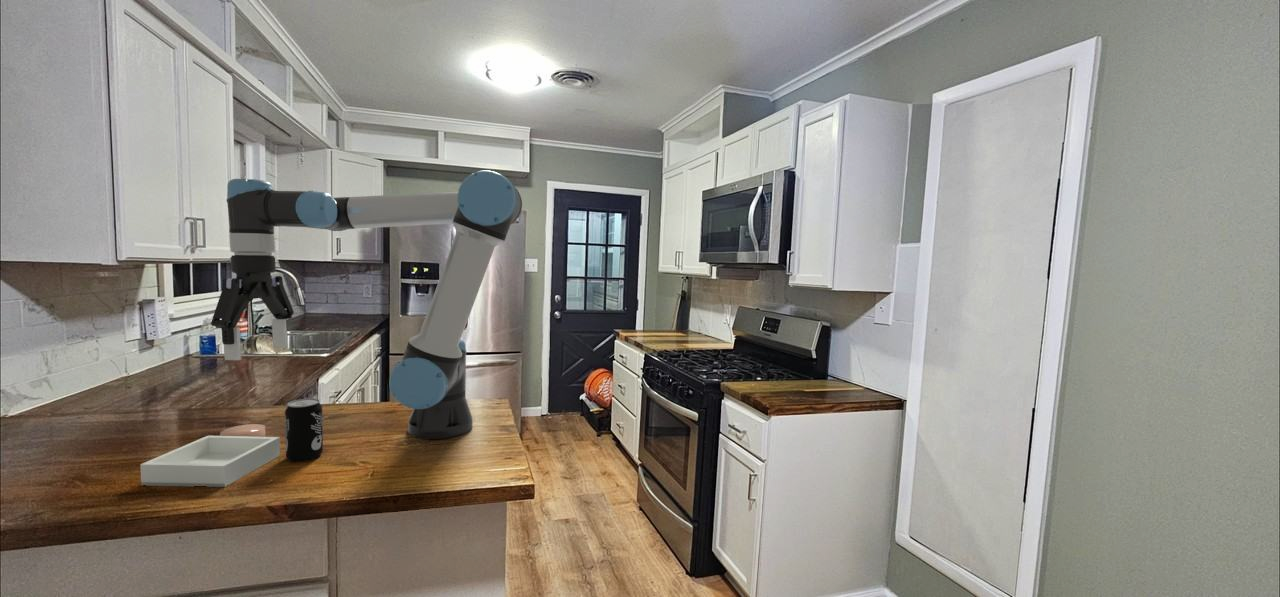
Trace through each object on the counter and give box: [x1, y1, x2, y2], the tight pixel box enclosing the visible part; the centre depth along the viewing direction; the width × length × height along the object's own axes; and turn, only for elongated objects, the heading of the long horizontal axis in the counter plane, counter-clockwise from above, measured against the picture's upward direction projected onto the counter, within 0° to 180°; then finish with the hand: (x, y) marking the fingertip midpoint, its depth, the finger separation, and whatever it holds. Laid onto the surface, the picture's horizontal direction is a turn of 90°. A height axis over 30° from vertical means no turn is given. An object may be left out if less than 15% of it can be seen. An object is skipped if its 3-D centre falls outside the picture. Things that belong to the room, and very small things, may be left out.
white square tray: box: [139, 435, 281, 488], centre depth 100 cm, size 15×15×4 cm
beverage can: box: [284, 398, 324, 463], centre depth 107 cm, size 7×7×12 cm
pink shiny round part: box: [219, 423, 266, 437], centre depth 114 cm, size 8×8×3 cm
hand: (258, 353), depth 108 cm, fingers open, 13 cm apart
